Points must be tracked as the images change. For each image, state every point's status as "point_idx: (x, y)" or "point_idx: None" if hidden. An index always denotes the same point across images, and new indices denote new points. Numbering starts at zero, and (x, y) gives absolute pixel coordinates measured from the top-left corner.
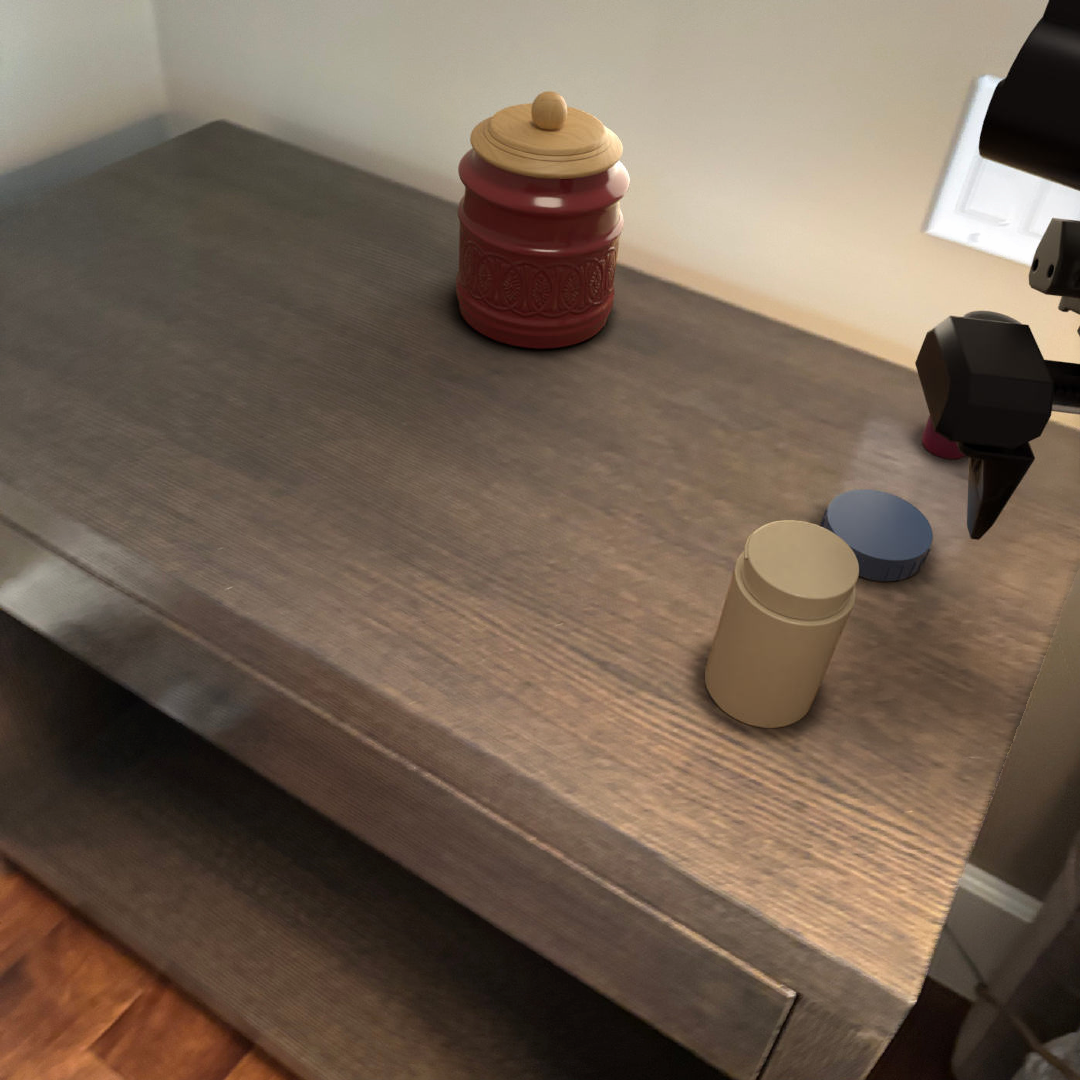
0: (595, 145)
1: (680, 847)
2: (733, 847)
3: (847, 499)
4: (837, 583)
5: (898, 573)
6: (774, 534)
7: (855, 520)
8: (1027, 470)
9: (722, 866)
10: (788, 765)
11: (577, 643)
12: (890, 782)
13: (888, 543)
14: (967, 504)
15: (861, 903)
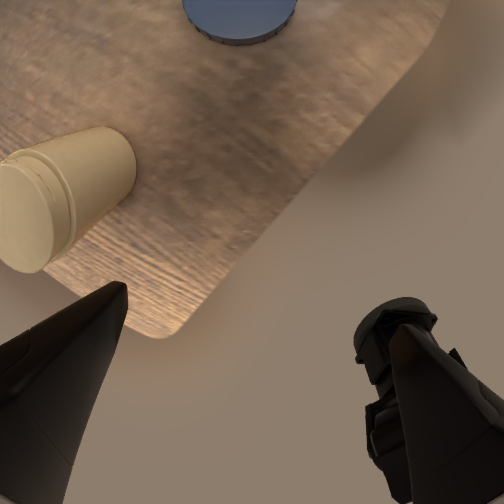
0: None
1: (64, 278)
2: (86, 281)
3: None
4: (37, 256)
5: (247, 42)
6: None
7: None
8: (63, 499)
9: (82, 289)
10: (113, 234)
11: (6, 146)
12: (177, 248)
13: (237, 17)
14: (90, 293)
15: (147, 312)
